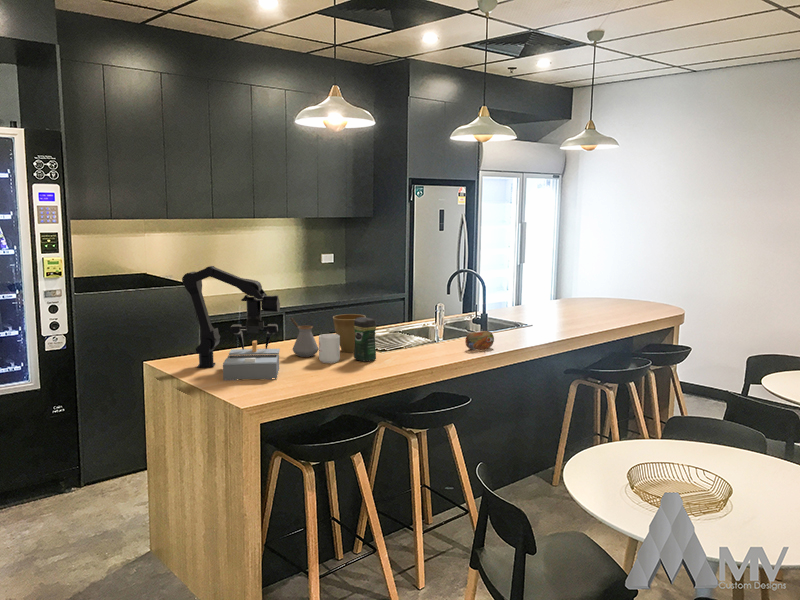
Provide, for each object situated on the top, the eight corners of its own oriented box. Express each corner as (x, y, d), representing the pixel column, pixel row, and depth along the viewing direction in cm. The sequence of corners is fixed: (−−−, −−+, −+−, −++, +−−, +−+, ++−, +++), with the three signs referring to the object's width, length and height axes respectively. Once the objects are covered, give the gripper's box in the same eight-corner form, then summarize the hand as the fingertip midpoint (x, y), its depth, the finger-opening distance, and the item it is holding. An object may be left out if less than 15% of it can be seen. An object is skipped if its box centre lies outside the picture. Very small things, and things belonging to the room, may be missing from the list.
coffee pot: (323, 356, 288) (322, 322, 286) (299, 359, 281) (299, 325, 279) (301, 347, 305) (301, 315, 303) (279, 350, 299) (278, 318, 296)
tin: (467, 351, 301) (468, 333, 300) (464, 349, 304) (464, 332, 303) (494, 348, 308) (494, 330, 307) (490, 346, 311) (490, 329, 310)
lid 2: (226, 359, 253) (225, 355, 253) (277, 358, 256) (277, 354, 256) (223, 364, 246) (223, 360, 246) (276, 363, 248) (276, 359, 248)
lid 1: (231, 350, 269) (231, 339, 268) (279, 349, 272) (279, 339, 271) (228, 355, 261) (228, 343, 261) (278, 354, 264) (278, 343, 263)
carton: (228, 369, 262) (228, 355, 261) (279, 368, 265) (278, 354, 264) (223, 380, 247) (222, 365, 246) (276, 379, 249) (276, 364, 248)
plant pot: (355, 345, 309) (355, 312, 307) (371, 352, 297) (371, 317, 294) (327, 349, 301) (327, 315, 299) (342, 355, 289) (342, 320, 286)
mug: (343, 362, 277) (343, 336, 275) (323, 364, 273) (323, 338, 271) (332, 356, 287) (331, 331, 286) (313, 358, 283) (313, 333, 281)
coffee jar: (379, 360, 281) (379, 318, 278) (365, 363, 276) (365, 320, 273) (364, 356, 288) (365, 315, 285) (350, 359, 283) (350, 317, 280)
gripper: (227, 315, 255) (228, 354, 257) (275, 314, 257) (276, 353, 260) (231, 310, 266) (232, 348, 268) (277, 310, 268) (278, 347, 270)
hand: (254, 349), depth 266 cm, fingers open, 9 cm apart
